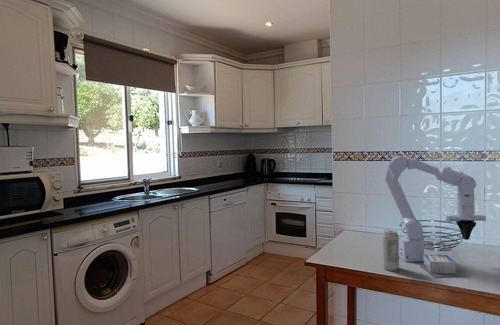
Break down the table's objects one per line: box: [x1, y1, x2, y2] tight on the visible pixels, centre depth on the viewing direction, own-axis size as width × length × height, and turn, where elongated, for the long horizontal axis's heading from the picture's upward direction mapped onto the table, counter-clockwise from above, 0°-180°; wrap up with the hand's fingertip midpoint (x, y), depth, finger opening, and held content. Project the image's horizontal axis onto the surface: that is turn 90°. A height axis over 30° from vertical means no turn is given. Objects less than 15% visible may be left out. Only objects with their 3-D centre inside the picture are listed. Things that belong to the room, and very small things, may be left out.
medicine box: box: [423, 254, 456, 273], centre depth 124 cm, size 8×4×9 cm
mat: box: [419, 264, 461, 279], centre depth 123 cm, size 9×11×1 cm
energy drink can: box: [381, 229, 400, 272], centre depth 127 cm, size 6×6×15 cm
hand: (465, 238), depth 129 cm, fingers closed
